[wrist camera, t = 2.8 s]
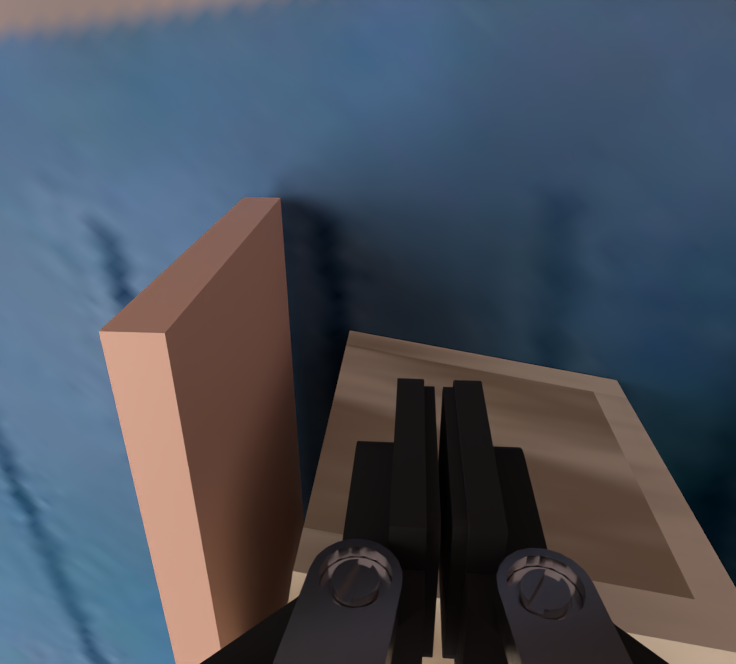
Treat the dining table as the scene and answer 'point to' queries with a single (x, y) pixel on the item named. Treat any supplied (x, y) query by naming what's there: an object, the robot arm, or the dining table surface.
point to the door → (214, 428)
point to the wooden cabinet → (549, 488)
